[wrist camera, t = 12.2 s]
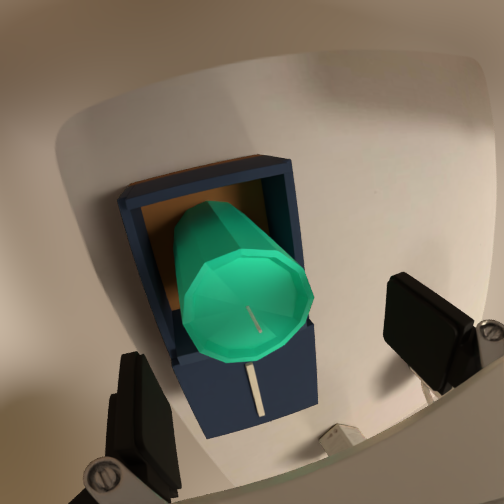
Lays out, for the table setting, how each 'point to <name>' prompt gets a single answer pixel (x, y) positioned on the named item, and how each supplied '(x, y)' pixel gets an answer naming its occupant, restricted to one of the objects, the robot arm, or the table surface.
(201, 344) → the candle
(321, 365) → the table surface
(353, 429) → the cosmetic box
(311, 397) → the navy slotted box
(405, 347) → the robot arm
